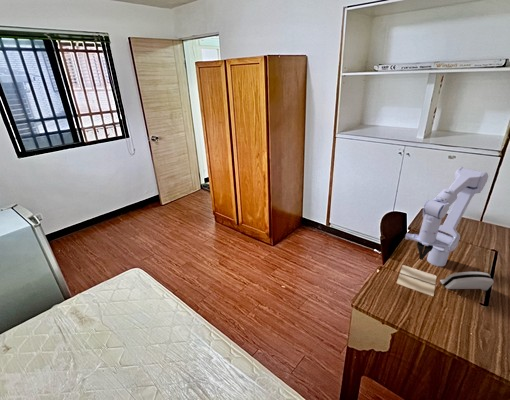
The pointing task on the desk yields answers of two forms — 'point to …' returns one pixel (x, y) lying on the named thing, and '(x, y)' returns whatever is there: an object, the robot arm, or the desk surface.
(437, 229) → the robot arm
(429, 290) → the board
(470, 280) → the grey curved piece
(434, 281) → the laid board
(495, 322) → the desk surface
